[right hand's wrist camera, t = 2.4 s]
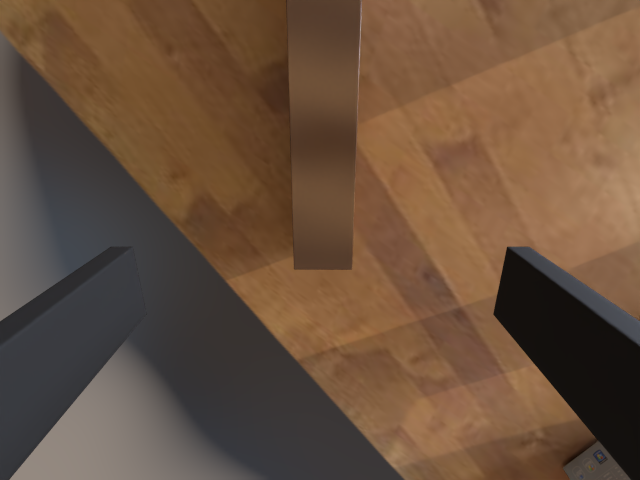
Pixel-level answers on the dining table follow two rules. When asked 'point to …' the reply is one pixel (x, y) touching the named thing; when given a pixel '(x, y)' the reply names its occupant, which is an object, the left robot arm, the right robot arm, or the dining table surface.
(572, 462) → the hard drive box
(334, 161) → the bar
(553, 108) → the dining table surface
